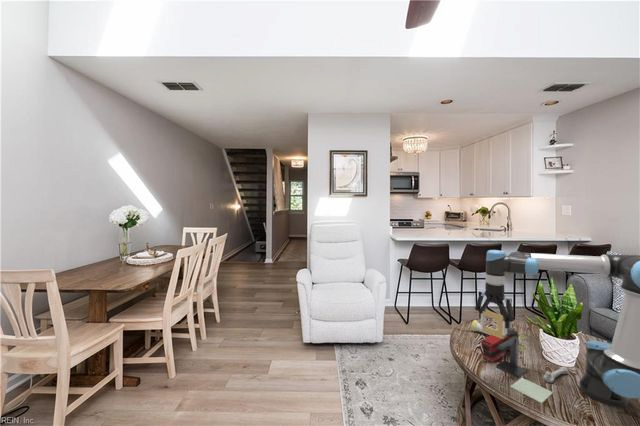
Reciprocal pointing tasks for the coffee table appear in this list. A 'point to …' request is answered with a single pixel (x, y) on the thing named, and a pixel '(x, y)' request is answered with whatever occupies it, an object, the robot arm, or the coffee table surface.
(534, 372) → the coffee table surface
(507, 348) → the toy gun
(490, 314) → the c link
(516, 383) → the mat
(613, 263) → the robot arm
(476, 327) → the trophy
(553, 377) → the grey bone
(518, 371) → the stand
